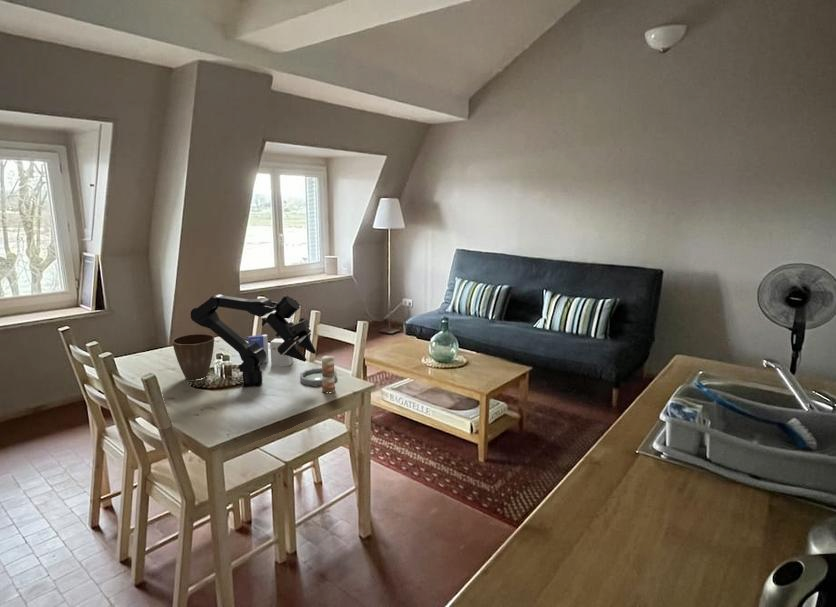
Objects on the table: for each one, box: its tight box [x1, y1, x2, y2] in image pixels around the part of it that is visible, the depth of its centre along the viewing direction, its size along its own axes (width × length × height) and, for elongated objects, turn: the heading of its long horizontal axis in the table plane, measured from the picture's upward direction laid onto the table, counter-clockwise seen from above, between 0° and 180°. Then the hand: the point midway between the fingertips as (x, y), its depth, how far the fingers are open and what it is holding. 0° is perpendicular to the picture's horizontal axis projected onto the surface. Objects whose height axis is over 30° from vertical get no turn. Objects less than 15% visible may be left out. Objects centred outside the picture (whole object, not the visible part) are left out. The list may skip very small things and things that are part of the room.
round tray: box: [299, 367, 338, 386], centre depth 194 cm, size 14×14×2 cm
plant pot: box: [171, 333, 215, 381], centre depth 191 cm, size 15×15×16 cm
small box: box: [269, 338, 294, 367], centre depth 210 cm, size 8×6×10 cm
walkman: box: [247, 334, 269, 363], centre depth 211 cm, size 8×3×12 cm, turn 117°
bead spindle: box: [321, 355, 336, 394], centre depth 182 cm, size 5×5×13 cm
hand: (310, 357), depth 181 cm, fingers open, 9 cm apart
